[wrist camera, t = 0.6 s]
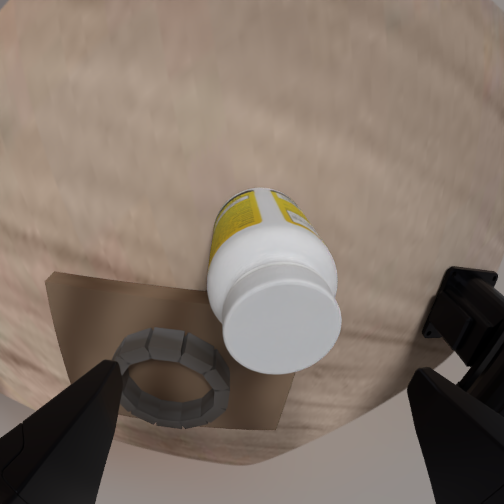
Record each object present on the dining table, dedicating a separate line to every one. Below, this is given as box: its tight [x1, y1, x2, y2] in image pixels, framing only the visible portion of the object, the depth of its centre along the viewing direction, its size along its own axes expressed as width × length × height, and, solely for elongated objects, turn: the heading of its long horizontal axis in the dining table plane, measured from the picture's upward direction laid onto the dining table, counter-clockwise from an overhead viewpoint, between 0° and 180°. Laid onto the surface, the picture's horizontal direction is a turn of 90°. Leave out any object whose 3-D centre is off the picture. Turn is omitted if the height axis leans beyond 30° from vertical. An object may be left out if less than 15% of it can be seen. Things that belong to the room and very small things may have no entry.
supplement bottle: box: [207, 188, 341, 374], centre depth 14 cm, size 5×5×10 cm
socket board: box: [45, 272, 295, 430], centre depth 21 cm, size 18×13×4 cm
